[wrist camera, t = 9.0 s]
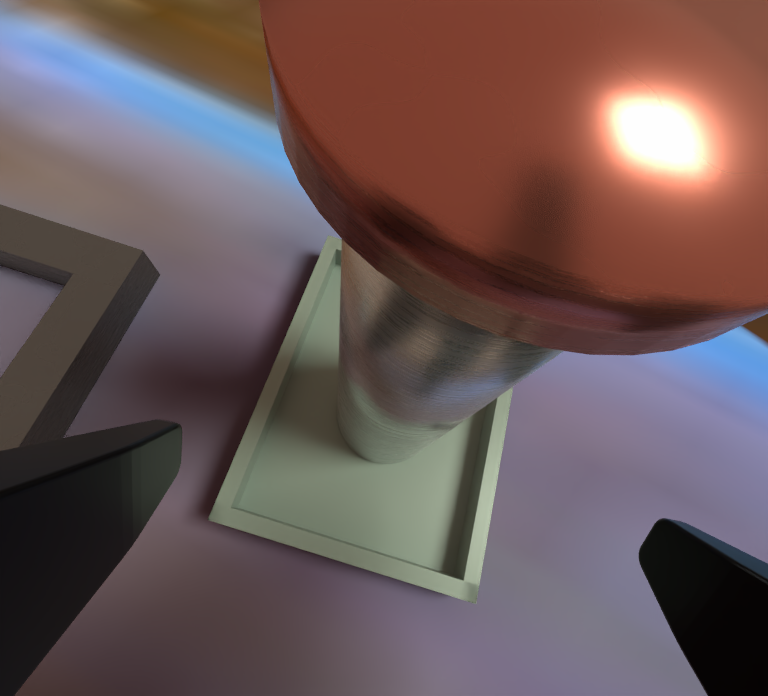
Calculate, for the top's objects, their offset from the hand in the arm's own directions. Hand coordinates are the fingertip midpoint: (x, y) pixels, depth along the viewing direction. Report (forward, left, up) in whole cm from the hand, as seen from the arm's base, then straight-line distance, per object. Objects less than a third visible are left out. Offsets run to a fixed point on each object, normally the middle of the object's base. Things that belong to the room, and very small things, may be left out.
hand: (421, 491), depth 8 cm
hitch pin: (+4, 0, -10) cm, 11 cm away
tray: (+4, 0, -11) cm, 11 cm away
